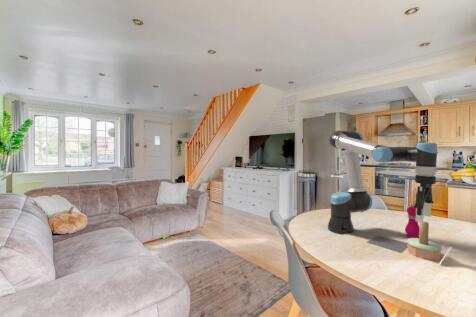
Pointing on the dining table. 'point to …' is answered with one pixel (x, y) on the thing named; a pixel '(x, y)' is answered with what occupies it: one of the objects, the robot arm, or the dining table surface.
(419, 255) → the bowl
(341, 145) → the robot arm
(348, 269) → the dining table surface
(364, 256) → the dining table surface
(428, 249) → the plunger
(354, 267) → the dining table surface
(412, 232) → the pepper mill
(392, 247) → the mat
